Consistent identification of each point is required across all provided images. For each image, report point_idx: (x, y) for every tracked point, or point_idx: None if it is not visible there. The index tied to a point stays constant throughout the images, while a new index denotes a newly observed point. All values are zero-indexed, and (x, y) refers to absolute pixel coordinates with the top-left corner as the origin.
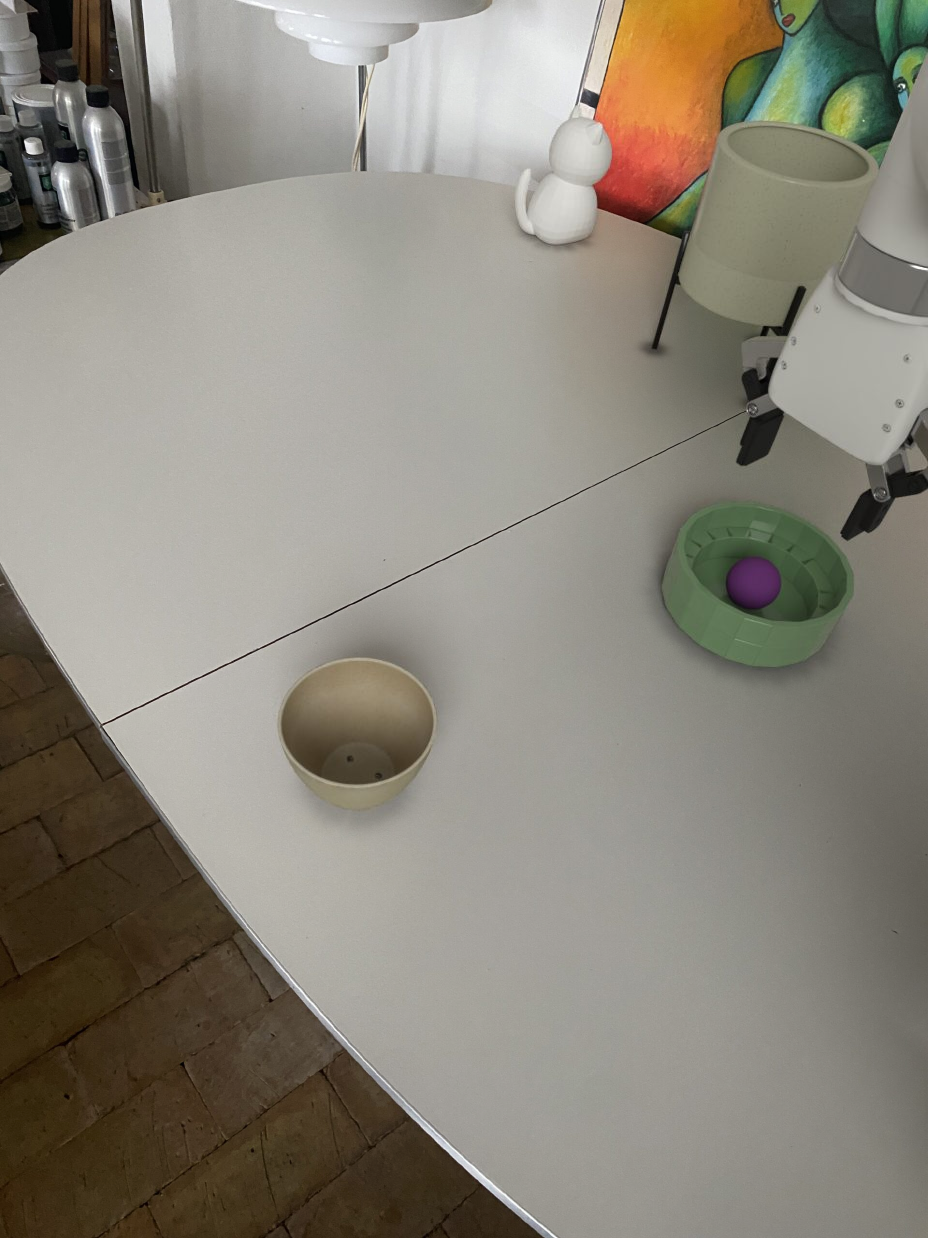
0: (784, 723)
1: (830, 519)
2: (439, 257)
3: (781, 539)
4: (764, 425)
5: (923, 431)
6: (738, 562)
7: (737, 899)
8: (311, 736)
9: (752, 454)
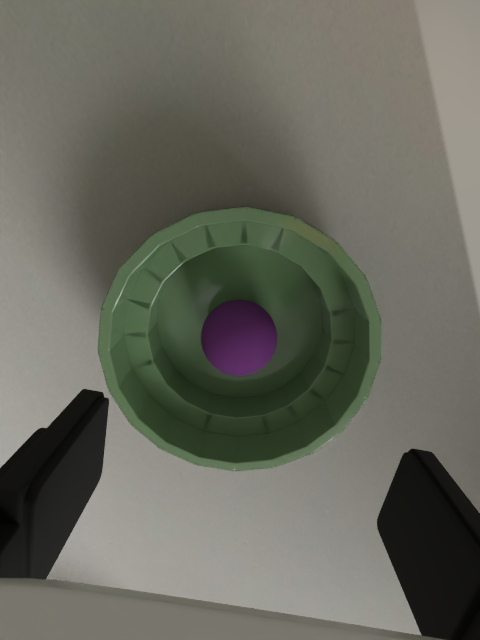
0: (356, 431)
1: (244, 18)
2: None
3: (222, 224)
4: (37, 571)
5: None
6: (206, 350)
7: (391, 580)
8: None
9: (90, 486)
